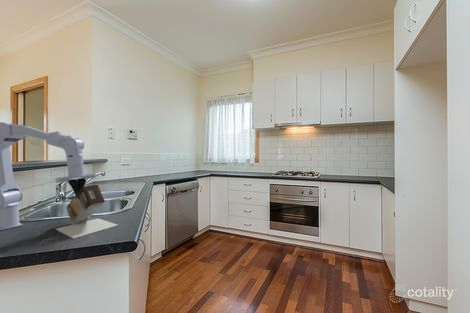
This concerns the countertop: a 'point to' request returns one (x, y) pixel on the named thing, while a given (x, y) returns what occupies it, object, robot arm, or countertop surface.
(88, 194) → the coffee box
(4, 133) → the robot arm
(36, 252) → the countertop surface
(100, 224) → the mat
